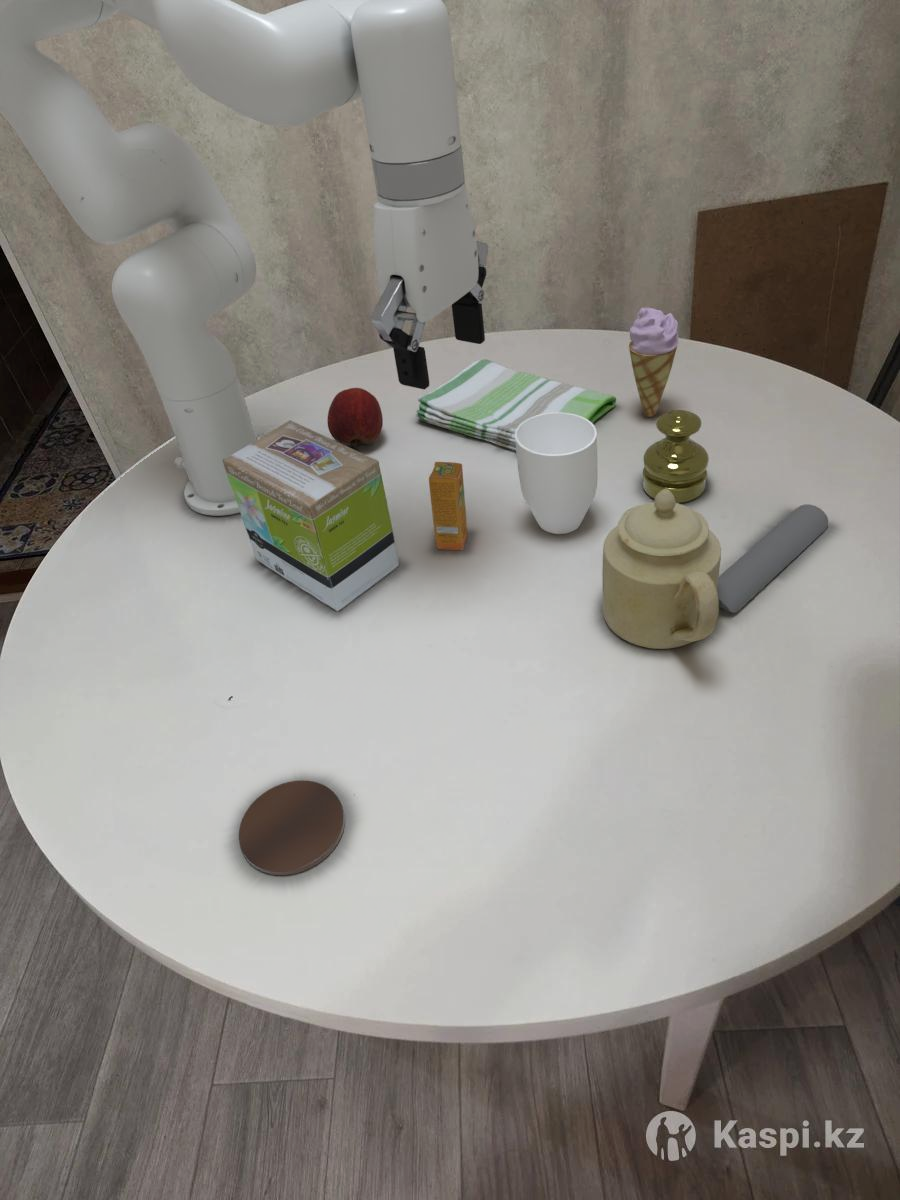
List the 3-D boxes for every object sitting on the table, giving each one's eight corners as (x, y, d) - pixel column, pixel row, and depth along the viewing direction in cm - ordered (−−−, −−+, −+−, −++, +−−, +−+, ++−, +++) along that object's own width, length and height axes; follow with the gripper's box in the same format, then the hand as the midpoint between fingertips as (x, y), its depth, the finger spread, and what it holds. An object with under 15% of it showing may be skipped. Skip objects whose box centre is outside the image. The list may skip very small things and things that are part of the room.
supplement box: (465, 551, 99) (456, 478, 92) (436, 550, 100) (424, 477, 93) (470, 533, 101) (462, 461, 95) (442, 532, 102) (431, 460, 95)
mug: (583, 550, 97) (581, 459, 89) (509, 537, 100) (502, 448, 92) (614, 492, 104) (615, 403, 96) (544, 481, 108) (540, 394, 100)
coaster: (218, 845, 73) (216, 841, 73) (288, 769, 78) (286, 765, 78) (297, 894, 69) (296, 890, 68) (366, 810, 74) (364, 806, 74)
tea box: (254, 564, 102) (217, 457, 92) (318, 521, 107) (290, 415, 97) (337, 615, 93) (307, 504, 83) (403, 566, 98) (382, 455, 88)
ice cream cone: (621, 404, 119) (623, 298, 109) (666, 398, 119) (672, 291, 109) (633, 429, 114) (636, 320, 104) (679, 422, 114) (687, 313, 104)
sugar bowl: (769, 629, 85) (794, 503, 75) (697, 688, 80) (713, 563, 70) (650, 563, 94) (658, 443, 84) (579, 613, 89) (578, 492, 79)
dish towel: (484, 370, 131) (482, 348, 129) (618, 403, 119) (619, 380, 117) (413, 423, 122) (409, 400, 120) (551, 465, 110) (550, 441, 108)
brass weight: (636, 501, 102) (640, 427, 96) (648, 466, 107) (652, 394, 101) (700, 508, 100) (708, 433, 93) (709, 472, 105) (717, 399, 98)
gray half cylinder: (830, 525, 95) (833, 512, 94) (730, 618, 86) (732, 605, 85) (794, 511, 97) (797, 498, 96) (694, 600, 88) (695, 587, 87)
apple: (398, 434, 120) (388, 382, 115) (364, 463, 115) (353, 410, 110) (356, 424, 123) (345, 373, 118) (322, 451, 119) (309, 399, 114)
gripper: (439, 141, 79) (459, 320, 91) (319, 205, 69) (358, 397, 81) (510, 145, 76) (521, 330, 87) (394, 213, 66) (424, 412, 77)
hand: (443, 362), depth 84 cm, fingers open, 9 cm apart
